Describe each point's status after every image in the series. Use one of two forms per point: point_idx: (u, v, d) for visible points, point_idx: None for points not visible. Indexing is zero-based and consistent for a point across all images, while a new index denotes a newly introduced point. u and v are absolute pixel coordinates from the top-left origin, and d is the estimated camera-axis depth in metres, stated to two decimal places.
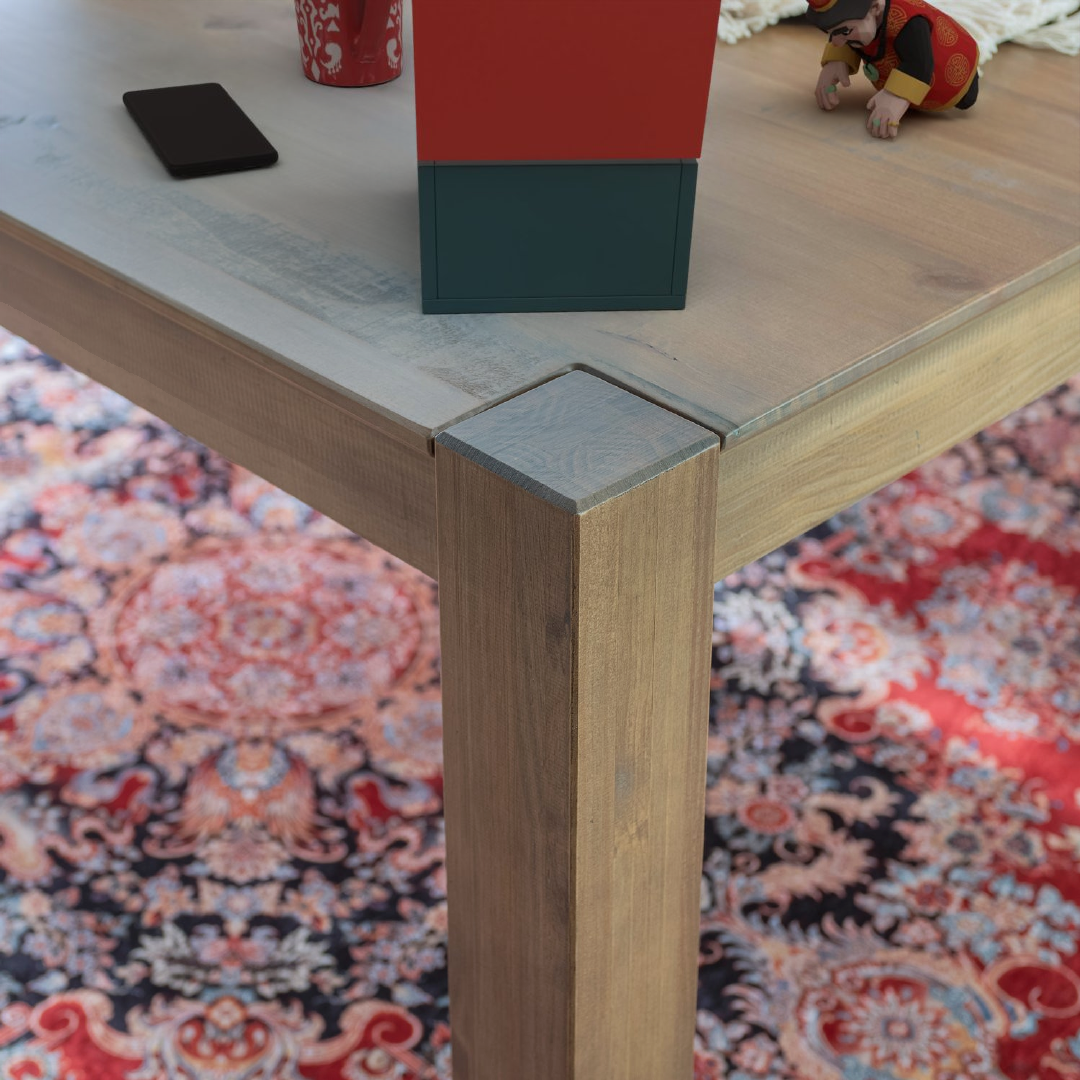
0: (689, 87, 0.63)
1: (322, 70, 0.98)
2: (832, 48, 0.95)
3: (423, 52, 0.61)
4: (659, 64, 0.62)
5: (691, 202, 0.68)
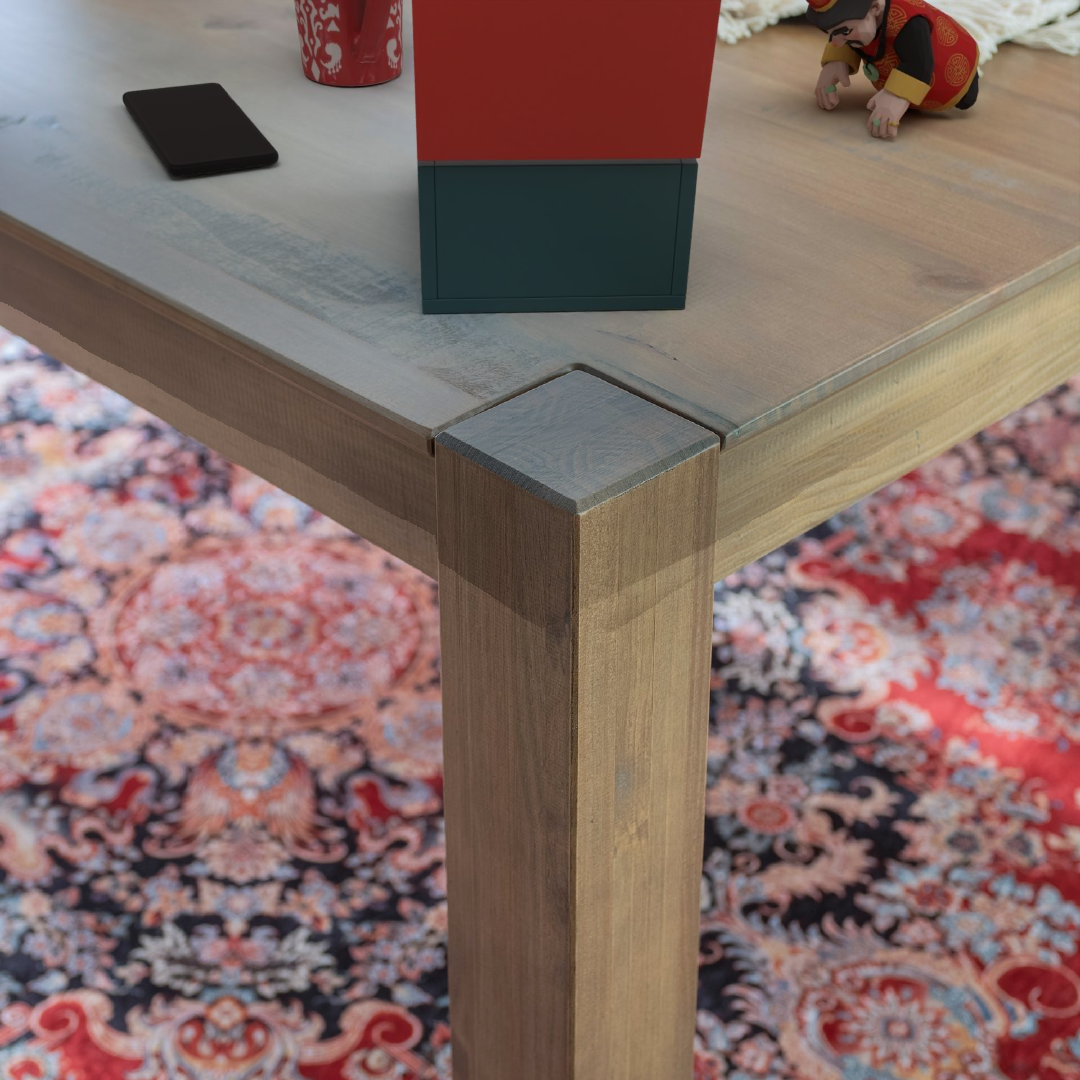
0: (689, 87, 0.63)
1: (322, 70, 0.98)
2: (832, 48, 0.95)
3: (423, 52, 0.61)
4: (659, 64, 0.62)
5: (691, 202, 0.68)
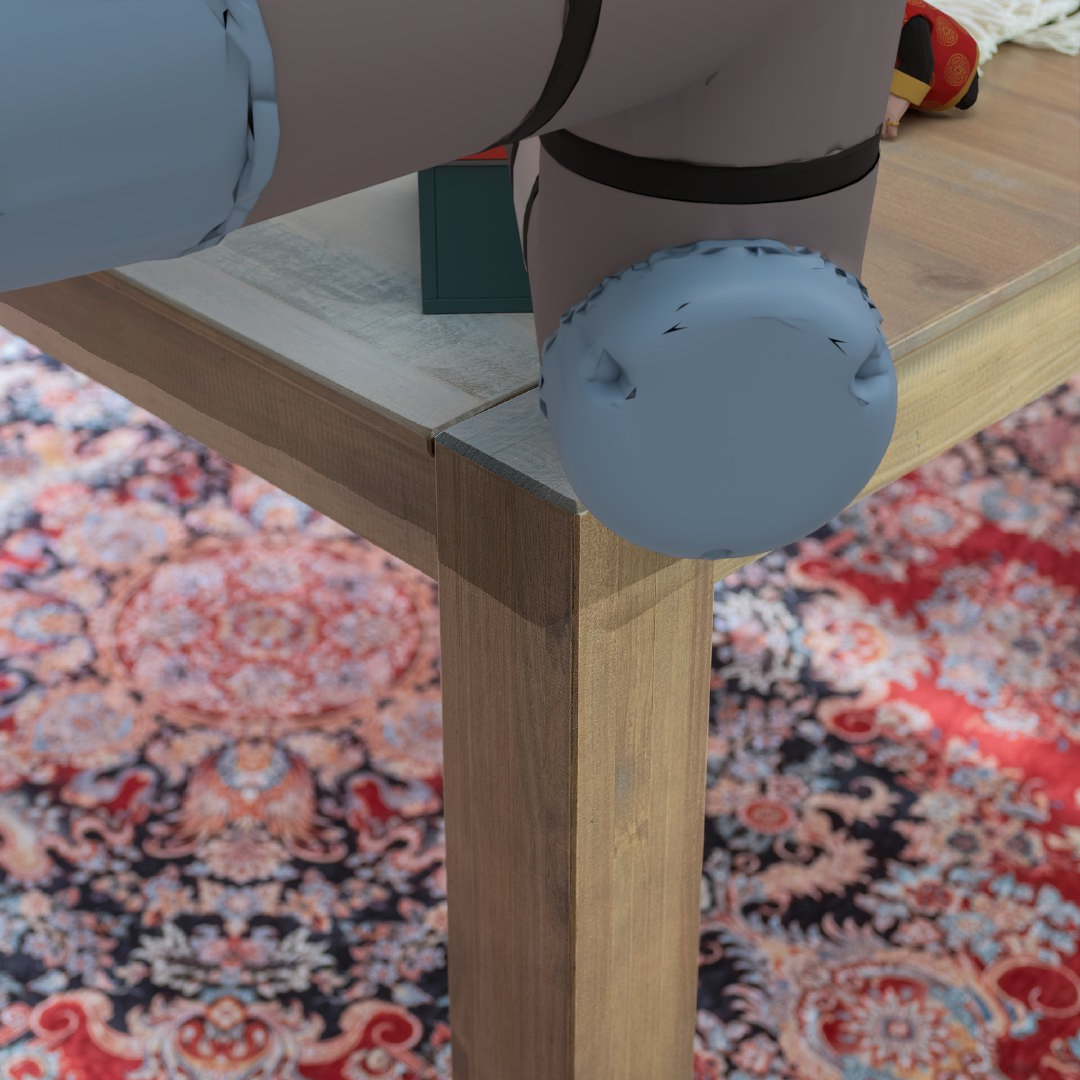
0: None
1: None
2: None
3: None
4: None
5: None
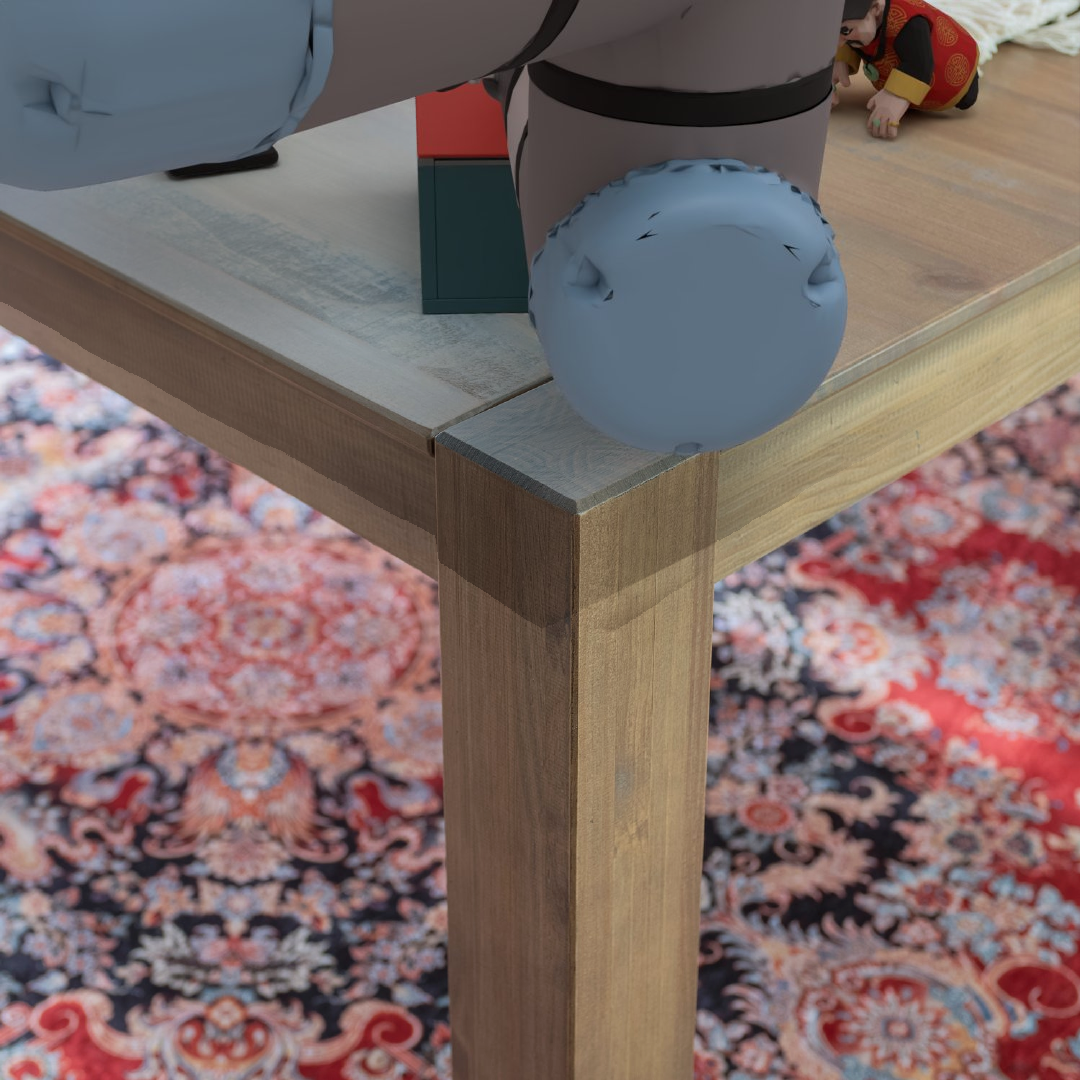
0: None
1: None
2: None
3: None
4: None
5: None
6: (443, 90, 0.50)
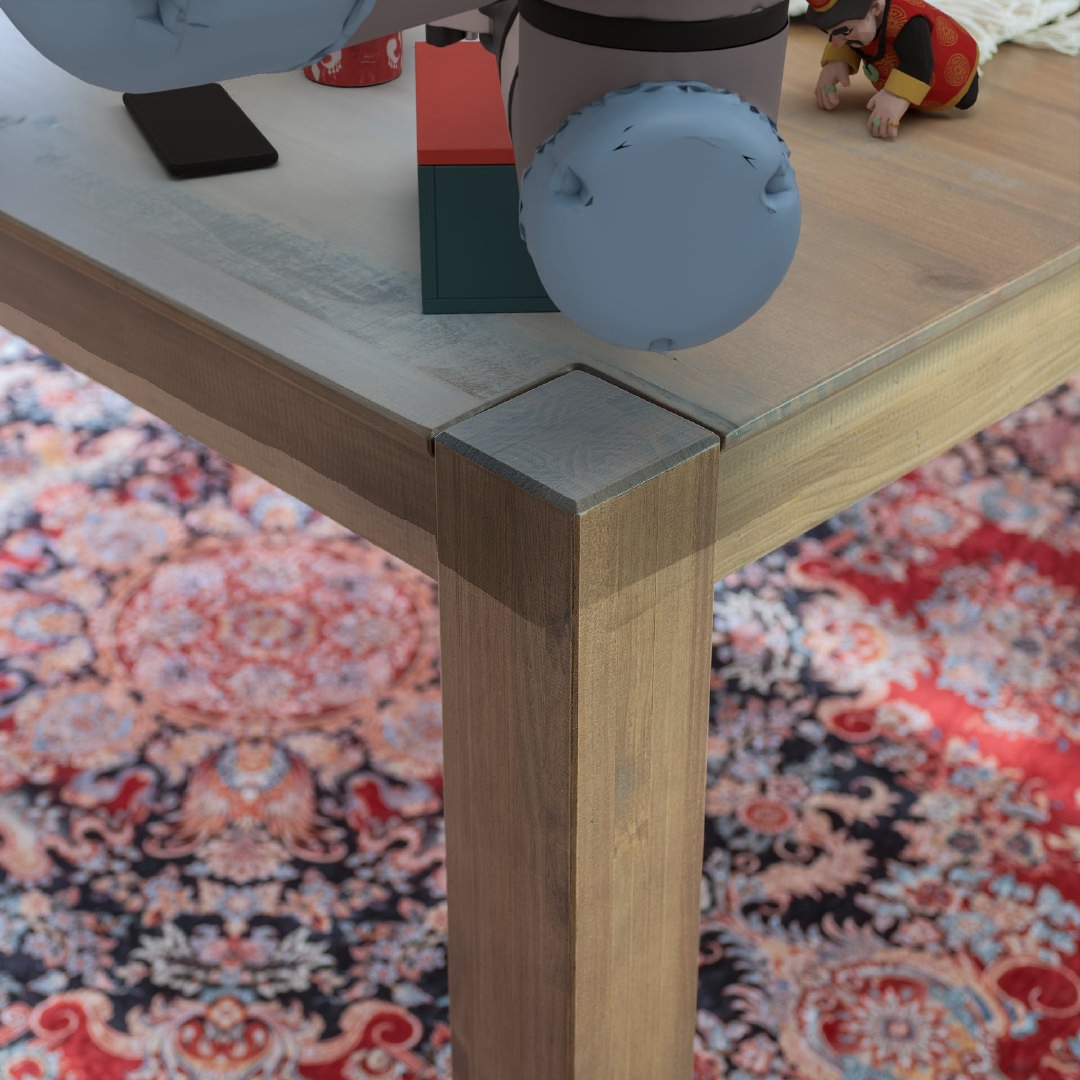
0: None
1: (322, 70, 0.98)
2: (832, 48, 0.95)
3: (424, 110, 0.69)
4: None
5: None
6: (442, 45, 0.54)
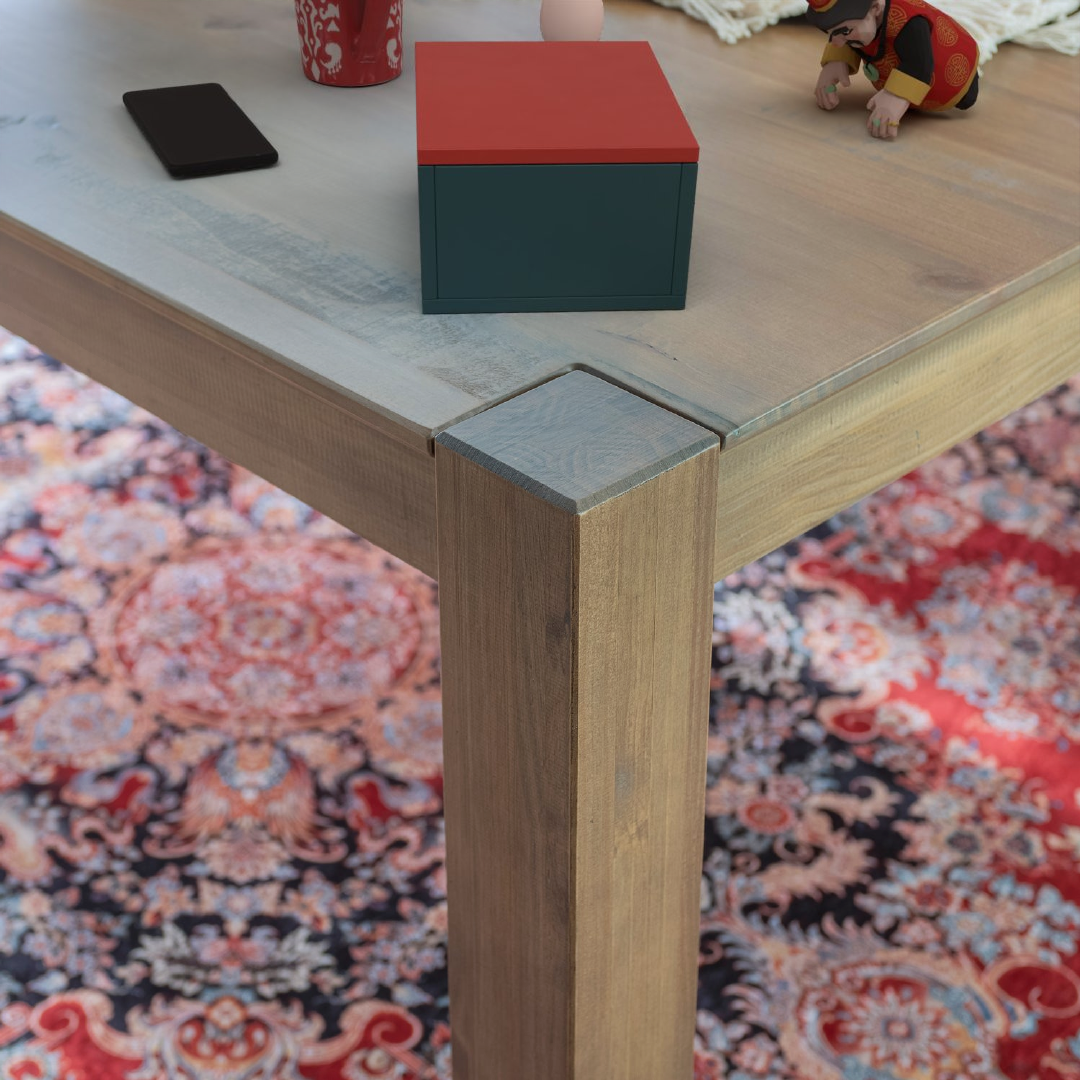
0: (667, 120, 0.69)
1: (322, 70, 0.98)
2: (832, 48, 0.95)
3: (424, 110, 0.69)
4: (635, 113, 0.70)
5: (691, 202, 0.68)
6: None
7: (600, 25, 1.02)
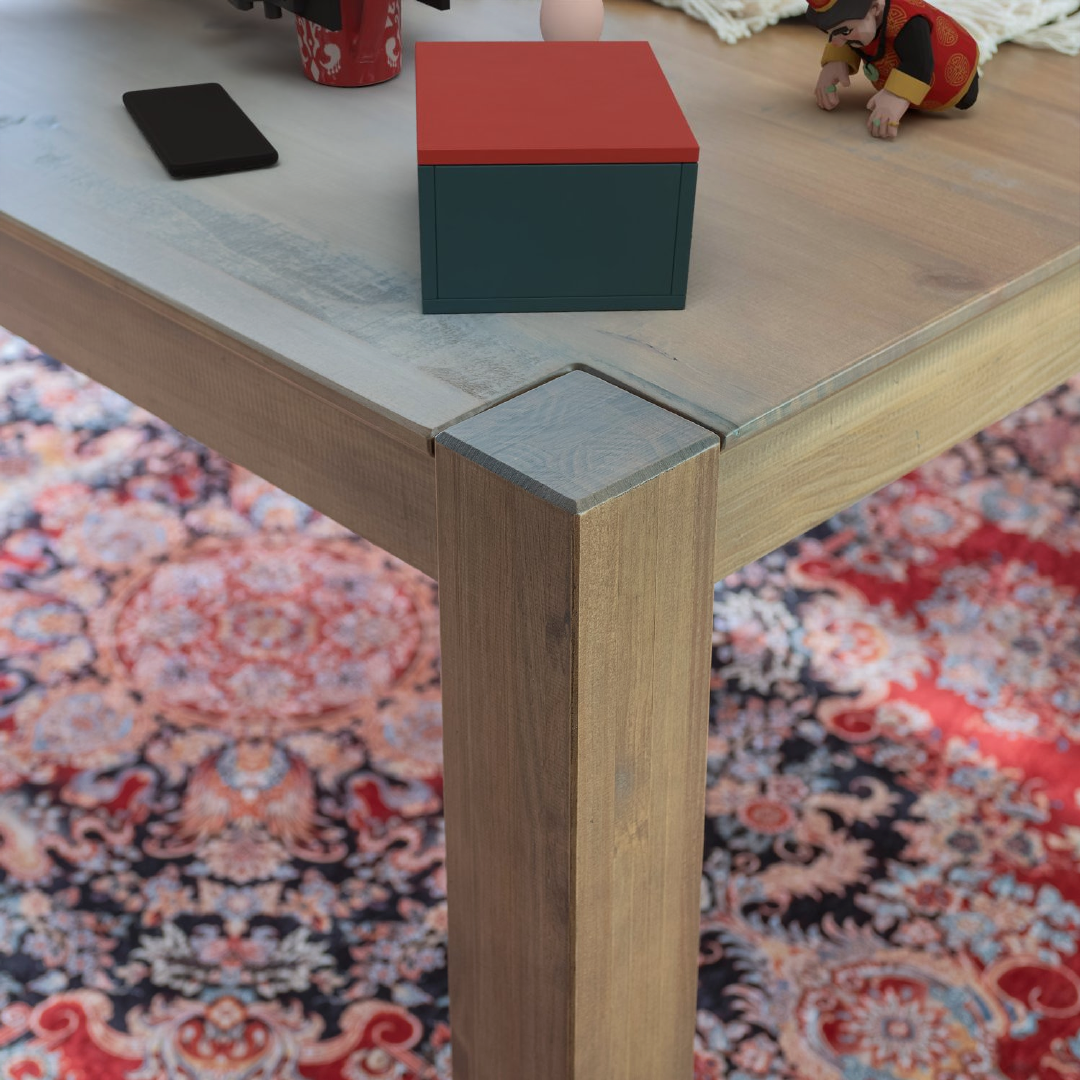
0: (667, 120, 0.69)
1: (321, 71, 0.98)
2: (832, 48, 0.95)
3: (424, 110, 0.69)
4: (635, 113, 0.70)
5: (691, 202, 0.68)
6: None
7: (600, 25, 1.02)
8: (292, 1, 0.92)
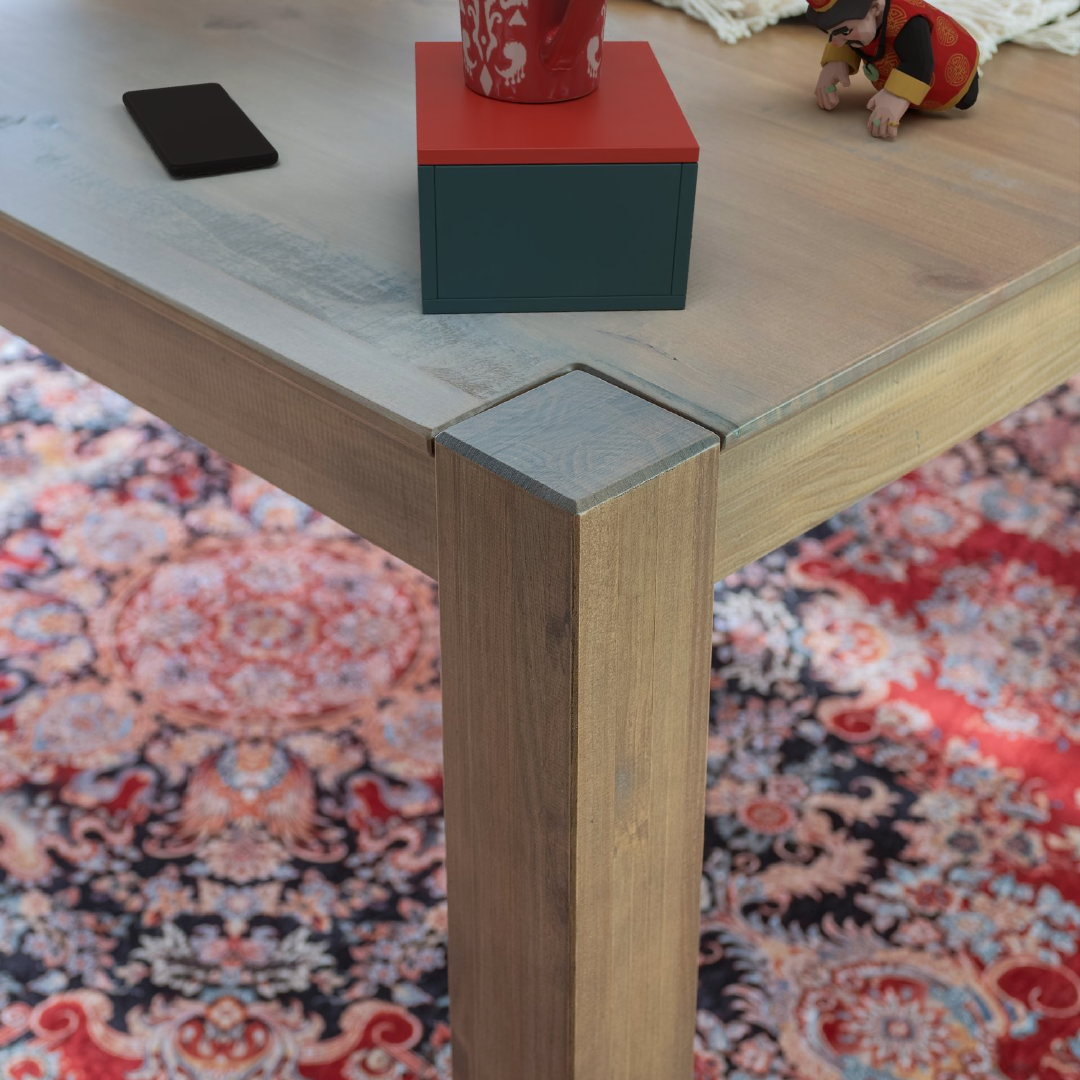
0: (667, 120, 0.69)
1: (496, 80, 0.70)
2: (832, 48, 0.95)
3: (424, 110, 0.69)
4: (635, 113, 0.70)
5: (691, 202, 0.68)
6: None
7: None
8: None
